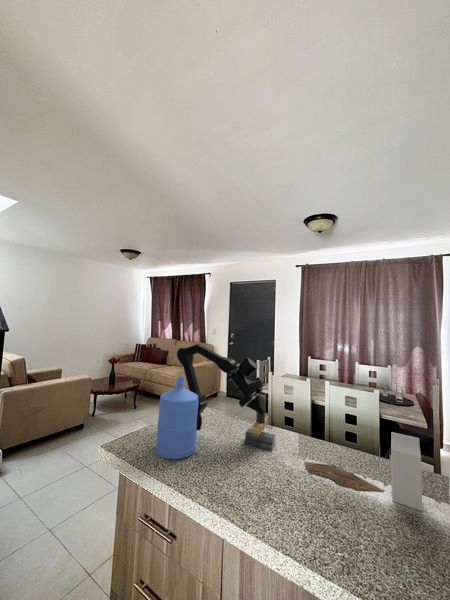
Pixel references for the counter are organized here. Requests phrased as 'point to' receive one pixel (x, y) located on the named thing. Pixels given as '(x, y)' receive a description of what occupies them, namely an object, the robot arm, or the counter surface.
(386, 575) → the counter surface
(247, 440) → the ridge stand
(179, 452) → the water jug
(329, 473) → the wooden fragment
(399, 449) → the milk carton
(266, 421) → the tan grey t-shaped tool
